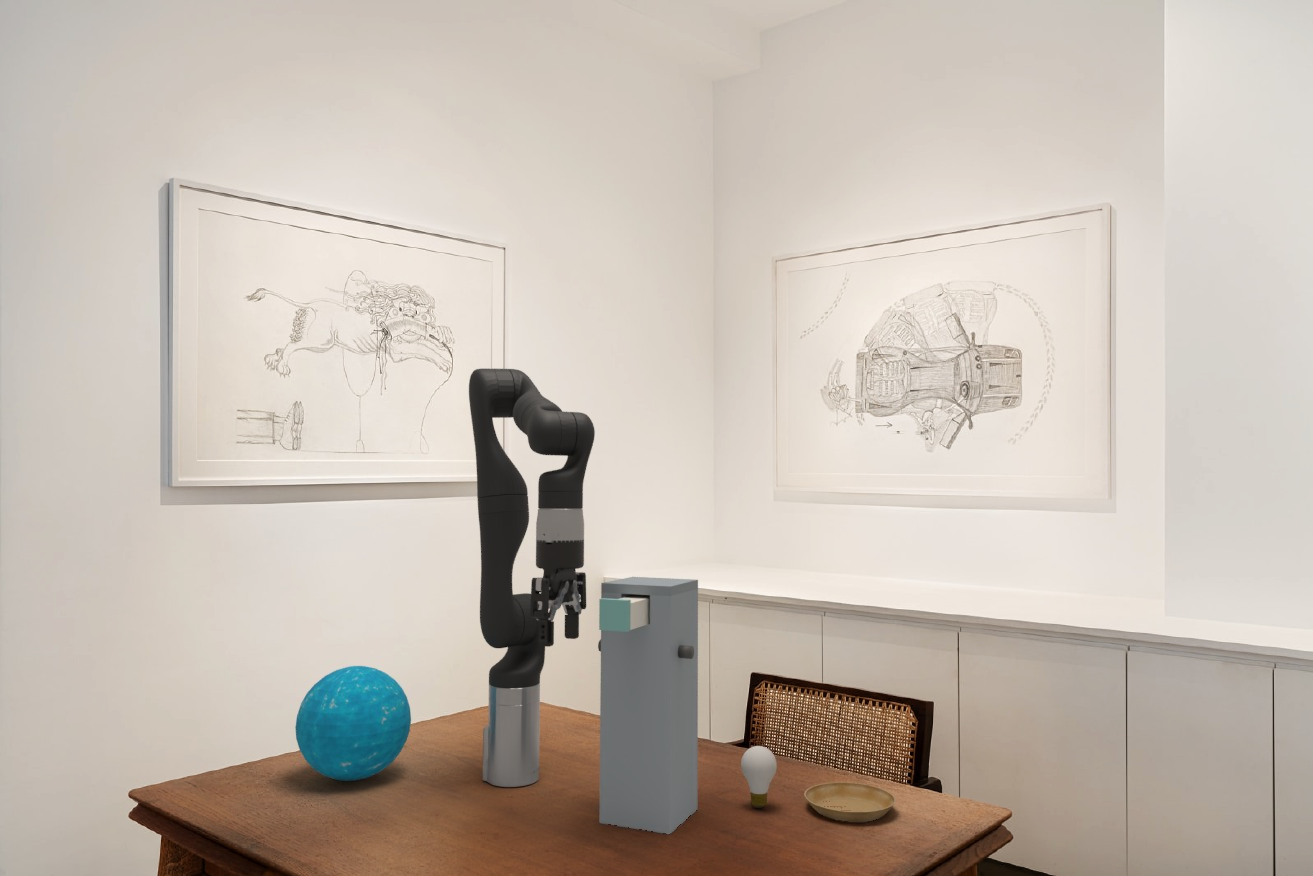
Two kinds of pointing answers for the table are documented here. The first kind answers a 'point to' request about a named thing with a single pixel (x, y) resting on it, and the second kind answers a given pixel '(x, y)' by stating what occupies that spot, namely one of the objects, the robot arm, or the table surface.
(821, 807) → the plant saucer
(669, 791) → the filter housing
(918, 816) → the table surface
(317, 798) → the table surface
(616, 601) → the block
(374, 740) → the decorative sphere
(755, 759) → the light bulb
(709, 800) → the table surface
